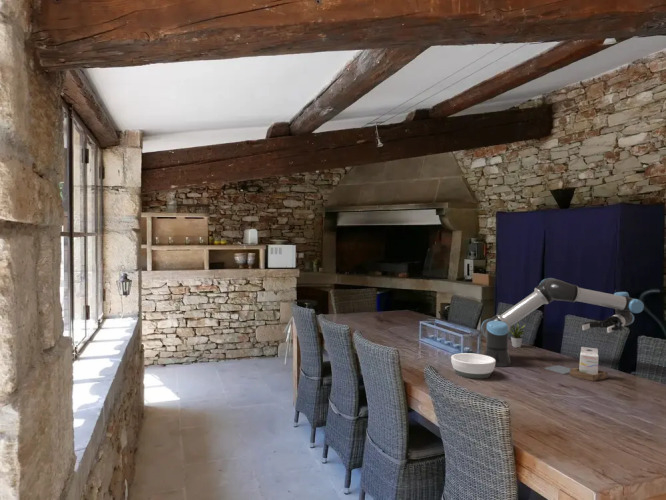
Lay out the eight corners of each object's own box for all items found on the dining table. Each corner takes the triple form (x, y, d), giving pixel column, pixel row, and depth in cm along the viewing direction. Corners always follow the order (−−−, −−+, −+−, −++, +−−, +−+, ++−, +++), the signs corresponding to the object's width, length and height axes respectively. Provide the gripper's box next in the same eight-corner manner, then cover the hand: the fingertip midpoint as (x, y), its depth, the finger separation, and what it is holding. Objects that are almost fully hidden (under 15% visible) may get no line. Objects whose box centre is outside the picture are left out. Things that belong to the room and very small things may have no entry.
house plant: (501, 347, 320) (501, 322, 320) (504, 343, 333) (505, 319, 332) (524, 350, 314) (525, 324, 313) (527, 345, 326) (527, 321, 325)
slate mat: (564, 374, 259) (564, 373, 259) (544, 368, 269) (544, 367, 269) (578, 371, 265) (578, 370, 265) (558, 366, 275) (558, 365, 275)
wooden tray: (592, 381, 247) (592, 375, 247) (570, 374, 258) (570, 369, 258) (607, 378, 253) (607, 372, 253) (584, 371, 264) (584, 366, 264)
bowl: (497, 381, 244) (498, 365, 244) (451, 378, 249) (451, 362, 248) (492, 369, 266) (492, 354, 266) (450, 366, 271) (450, 351, 270)
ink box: (579, 376, 255) (579, 348, 255) (579, 374, 260) (580, 346, 259) (597, 379, 251) (598, 350, 251) (597, 376, 256) (598, 348, 255)
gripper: (639, 330, 268) (619, 338, 256) (593, 326, 288) (573, 333, 277) (637, 317, 267) (618, 324, 256) (592, 314, 288) (572, 320, 276)
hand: (595, 329), depth 266 cm, fingers open, 13 cm apart
